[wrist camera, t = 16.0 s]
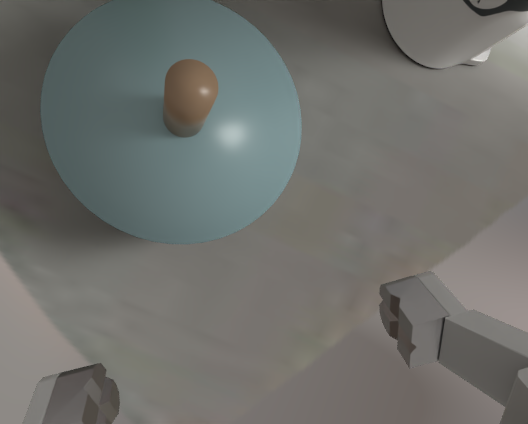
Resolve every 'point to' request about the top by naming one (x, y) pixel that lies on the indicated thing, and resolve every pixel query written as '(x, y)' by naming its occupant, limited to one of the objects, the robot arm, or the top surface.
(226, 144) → the cover
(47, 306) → the top surface
